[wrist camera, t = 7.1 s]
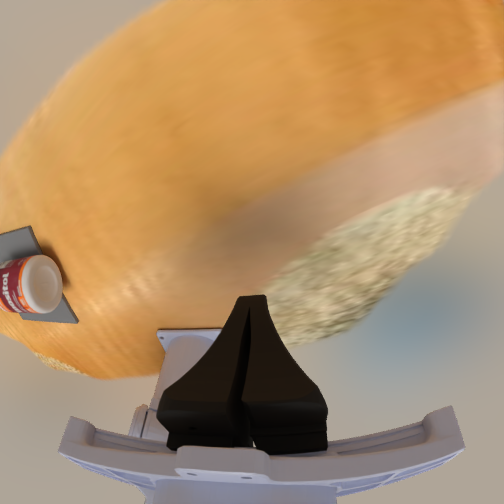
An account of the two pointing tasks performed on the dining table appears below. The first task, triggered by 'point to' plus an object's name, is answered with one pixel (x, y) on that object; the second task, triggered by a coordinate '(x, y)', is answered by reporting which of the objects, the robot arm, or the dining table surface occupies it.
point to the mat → (25, 246)
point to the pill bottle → (30, 285)
